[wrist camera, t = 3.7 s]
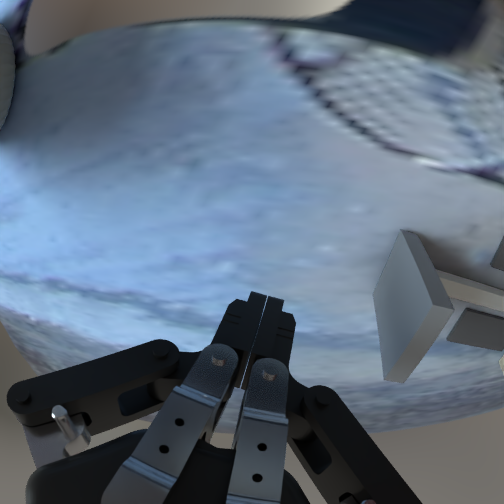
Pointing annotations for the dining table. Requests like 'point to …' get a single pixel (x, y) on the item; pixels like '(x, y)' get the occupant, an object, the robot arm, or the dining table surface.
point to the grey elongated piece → (418, 305)
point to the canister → (6, 73)
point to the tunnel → (502, 363)
